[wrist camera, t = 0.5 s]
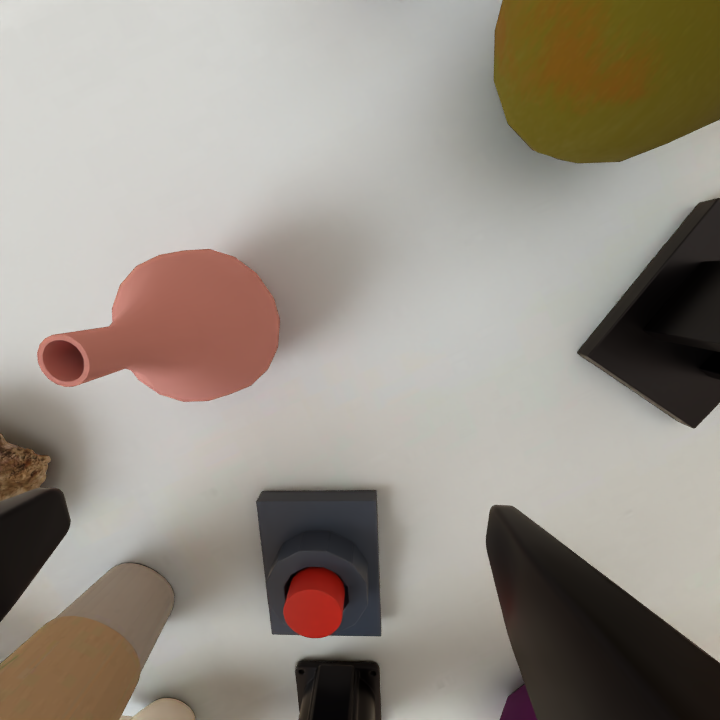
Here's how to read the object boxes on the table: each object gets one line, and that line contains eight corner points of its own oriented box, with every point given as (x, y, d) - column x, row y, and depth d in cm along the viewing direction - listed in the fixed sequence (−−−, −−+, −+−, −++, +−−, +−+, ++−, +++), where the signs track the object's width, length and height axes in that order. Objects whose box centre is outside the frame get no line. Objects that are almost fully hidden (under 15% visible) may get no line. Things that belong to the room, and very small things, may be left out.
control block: (381, 620, 26) (381, 663, 23) (276, 619, 26) (263, 661, 24) (376, 489, 24) (376, 519, 21) (261, 490, 24) (245, 519, 21)
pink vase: (309, 277, 21) (221, 269, 9) (279, 392, 22) (171, 511, 11) (185, 238, 21) (-67, 179, 9) (164, 357, 22) (-72, 438, 11)
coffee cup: (75, 534, 26) (-325, 867, 11) (199, 551, 25) (-42, 915, 11) (83, 635, 28) (-243, 1026, 13) (198, 651, 28) (-5, 1069, 13)
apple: (705, 74, 18) (1216, -251, 7) (560, 229, 20) (781, 163, 9) (567, -78, 17) (915, -738, 6) (428, 102, 18) (497, -147, 8)
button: (346, 612, 23) (343, 639, 21) (292, 611, 23) (285, 638, 21) (343, 566, 22) (340, 590, 20) (287, 565, 22) (280, 589, 21)
